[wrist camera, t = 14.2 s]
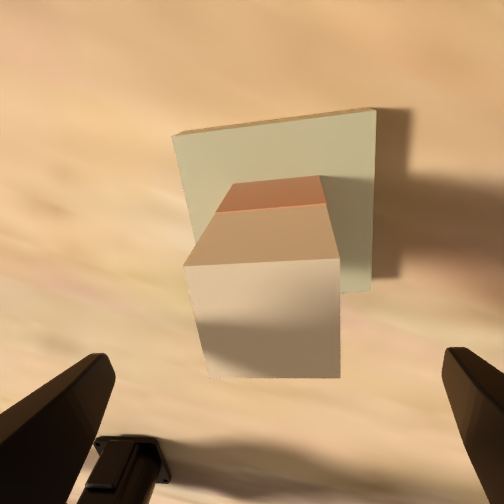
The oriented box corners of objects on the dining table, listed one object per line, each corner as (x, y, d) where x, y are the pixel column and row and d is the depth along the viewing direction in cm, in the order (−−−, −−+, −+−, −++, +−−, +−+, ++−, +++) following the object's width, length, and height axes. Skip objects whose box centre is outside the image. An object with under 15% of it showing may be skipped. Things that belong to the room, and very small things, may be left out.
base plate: (364, 274, 22) (371, 291, 20) (214, 282, 23) (208, 299, 21) (368, 107, 17) (376, 110, 15) (183, 131, 19) (171, 136, 17)
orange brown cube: (322, 253, 19) (329, 298, 15) (244, 258, 20) (231, 302, 16) (318, 175, 17) (326, 203, 13) (233, 183, 18) (215, 212, 14)
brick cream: (328, 300, 15) (340, 377, 11) (230, 303, 16) (209, 377, 12) (326, 205, 13) (339, 258, 9) (214, 213, 14) (182, 266, 10)
